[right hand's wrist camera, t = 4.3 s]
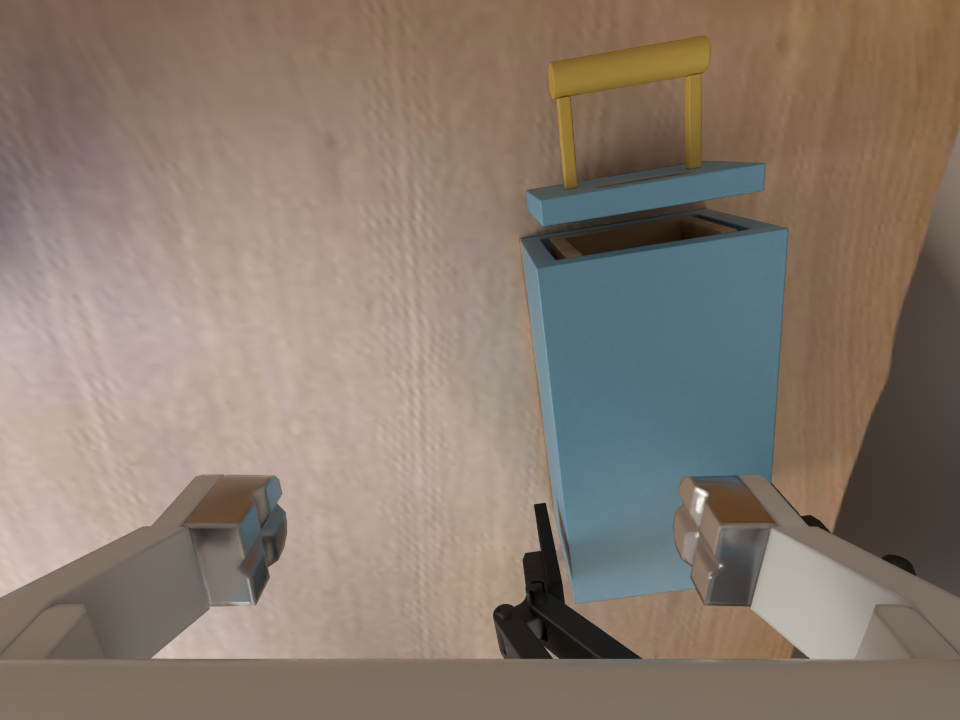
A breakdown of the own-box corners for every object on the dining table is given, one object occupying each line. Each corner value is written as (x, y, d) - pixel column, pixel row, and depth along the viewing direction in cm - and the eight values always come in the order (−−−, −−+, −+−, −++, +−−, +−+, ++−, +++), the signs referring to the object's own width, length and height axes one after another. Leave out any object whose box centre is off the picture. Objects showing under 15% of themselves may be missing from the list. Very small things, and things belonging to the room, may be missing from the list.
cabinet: (519, 238, 31) (535, 268, 23) (706, 208, 31) (789, 227, 23) (553, 512, 39) (574, 604, 31) (704, 491, 38) (765, 580, 30)
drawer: (512, 78, 27) (524, 56, 21) (704, 44, 27) (773, 12, 21) (558, 472, 36) (575, 536, 30) (702, 452, 36) (748, 513, 30)
